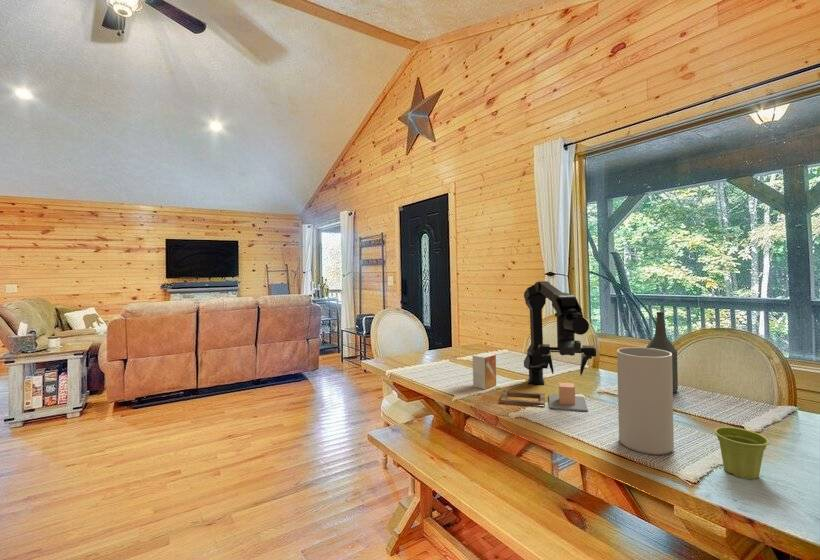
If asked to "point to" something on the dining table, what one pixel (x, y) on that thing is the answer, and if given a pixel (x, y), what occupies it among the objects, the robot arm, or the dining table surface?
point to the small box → (484, 370)
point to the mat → (579, 404)
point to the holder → (523, 402)
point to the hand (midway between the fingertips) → (566, 374)
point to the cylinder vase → (645, 400)
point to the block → (567, 393)
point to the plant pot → (741, 451)
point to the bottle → (665, 346)
